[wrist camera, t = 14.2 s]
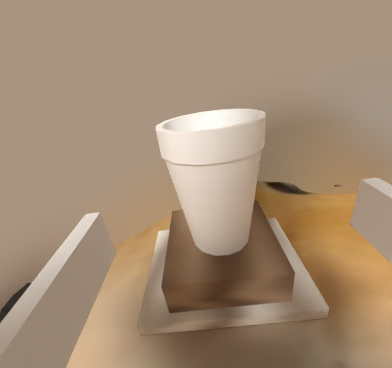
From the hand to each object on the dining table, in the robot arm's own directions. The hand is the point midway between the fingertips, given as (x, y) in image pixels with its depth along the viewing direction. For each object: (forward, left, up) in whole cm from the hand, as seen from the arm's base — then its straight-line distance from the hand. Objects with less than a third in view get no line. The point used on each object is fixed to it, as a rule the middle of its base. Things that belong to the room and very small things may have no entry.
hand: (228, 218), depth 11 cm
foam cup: (0, -10, -10) cm, 14 cm away
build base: (0, -10, -15) cm, 18 cm away
